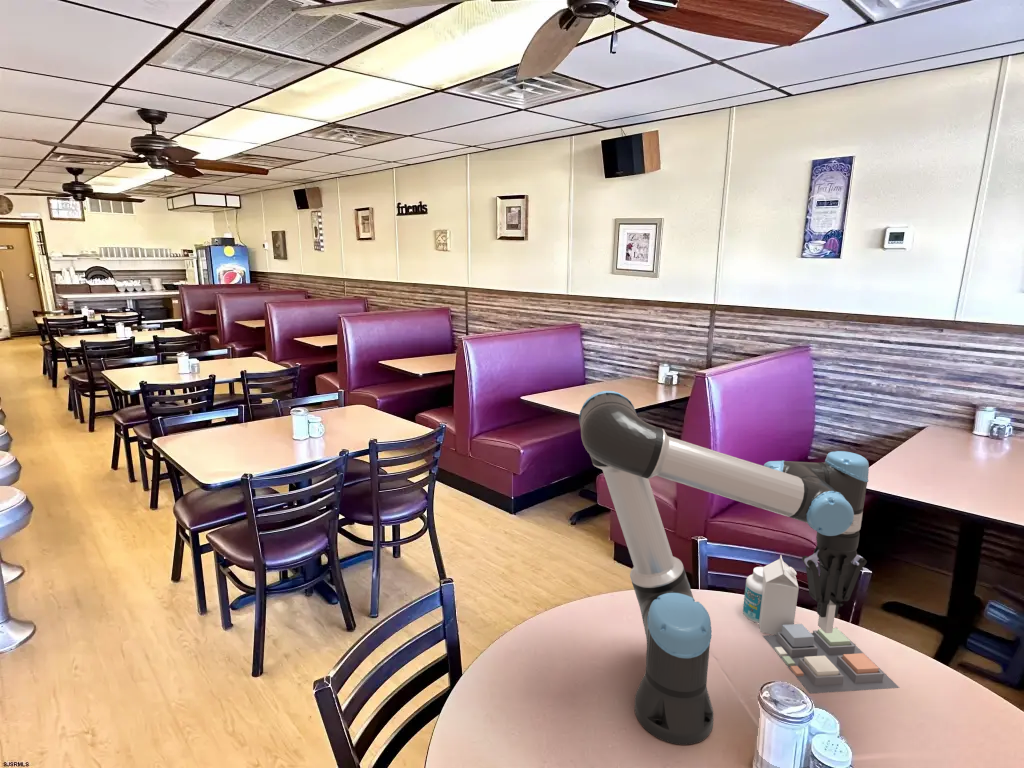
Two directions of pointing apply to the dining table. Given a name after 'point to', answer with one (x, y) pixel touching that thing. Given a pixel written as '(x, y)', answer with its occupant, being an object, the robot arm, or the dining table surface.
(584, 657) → the dining table surface
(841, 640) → the sage key
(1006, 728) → the dining table surface
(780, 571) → the milk carton
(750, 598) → the pill bottle
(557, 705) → the dining table surface
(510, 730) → the dining table surface
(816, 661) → the cream key
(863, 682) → the keypad
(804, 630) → the slate key
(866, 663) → the terracotta key
